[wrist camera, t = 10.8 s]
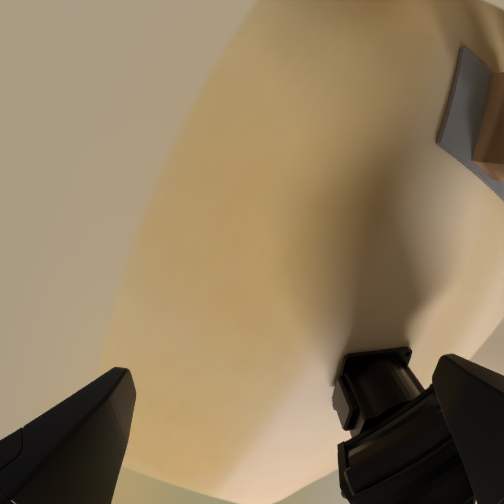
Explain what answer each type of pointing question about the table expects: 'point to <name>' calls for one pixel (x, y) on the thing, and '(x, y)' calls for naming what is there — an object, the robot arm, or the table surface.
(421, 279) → the table surface
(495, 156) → the ridge
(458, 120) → the mat
